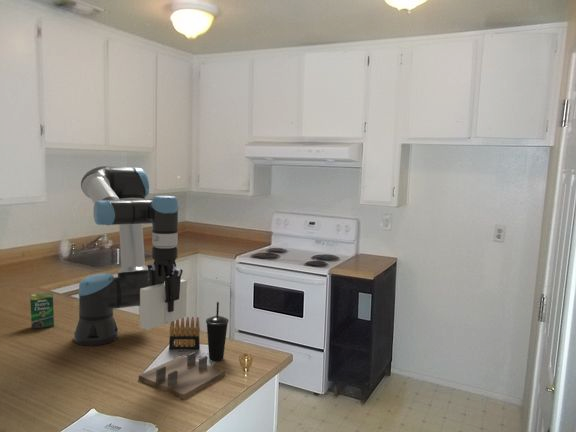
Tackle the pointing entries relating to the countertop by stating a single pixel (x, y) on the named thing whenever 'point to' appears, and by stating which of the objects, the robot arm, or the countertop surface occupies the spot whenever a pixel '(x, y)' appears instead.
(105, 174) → the robot arm
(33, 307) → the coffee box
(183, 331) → the ammunition clip
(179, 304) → the door panel
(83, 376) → the countertop surface
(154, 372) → the clip board
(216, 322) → the drinking cup
